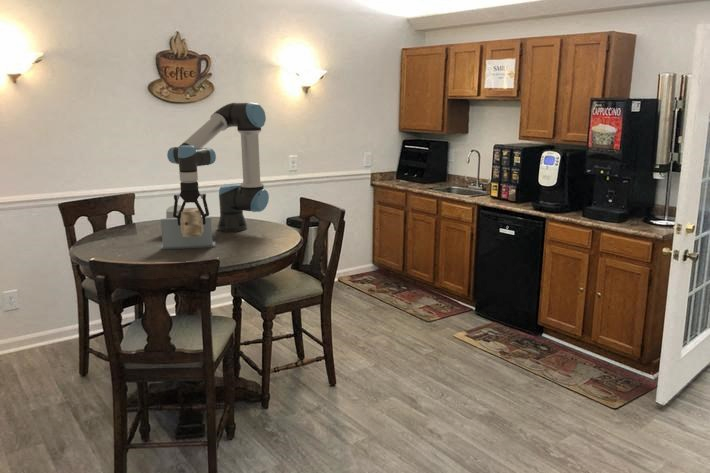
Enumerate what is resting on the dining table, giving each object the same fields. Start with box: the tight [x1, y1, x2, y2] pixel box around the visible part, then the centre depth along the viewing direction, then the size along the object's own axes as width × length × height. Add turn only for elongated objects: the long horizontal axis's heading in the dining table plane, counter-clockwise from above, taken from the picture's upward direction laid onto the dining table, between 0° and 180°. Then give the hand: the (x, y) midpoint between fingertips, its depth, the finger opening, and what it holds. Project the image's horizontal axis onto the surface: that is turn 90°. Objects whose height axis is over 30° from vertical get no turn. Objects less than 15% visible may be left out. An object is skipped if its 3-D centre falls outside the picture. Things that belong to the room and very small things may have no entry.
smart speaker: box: [165, 204, 182, 219], centre depth 296 cm, size 10×9×14 cm
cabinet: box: [181, 207, 202, 237], centre depth 261 cm, size 8×11×11 cm
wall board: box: [160, 216, 216, 251], centre depth 270 cm, size 24×6×14 cm, turn 102°
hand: (192, 232), depth 260 cm, fingers closed on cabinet, 8 cm apart
